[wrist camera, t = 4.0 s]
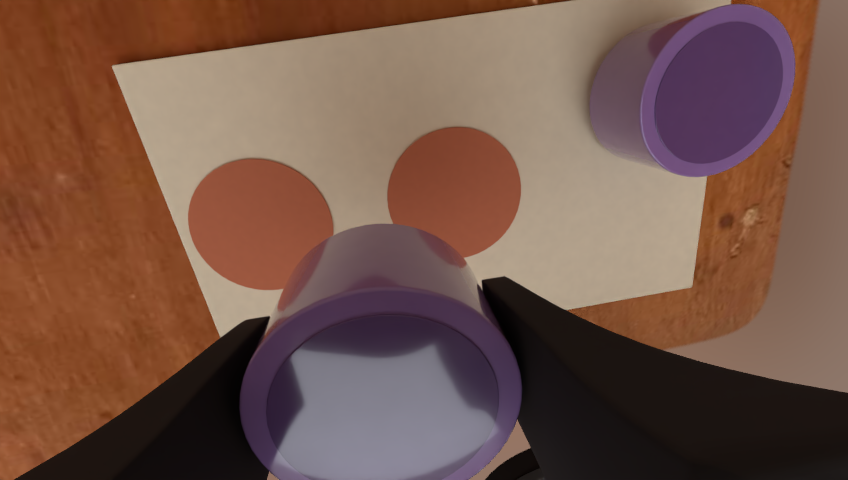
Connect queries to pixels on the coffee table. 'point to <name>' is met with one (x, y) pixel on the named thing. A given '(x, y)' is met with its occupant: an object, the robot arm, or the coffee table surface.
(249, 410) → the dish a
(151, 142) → the mat
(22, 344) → the coffee table surface
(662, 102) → the purple cup
